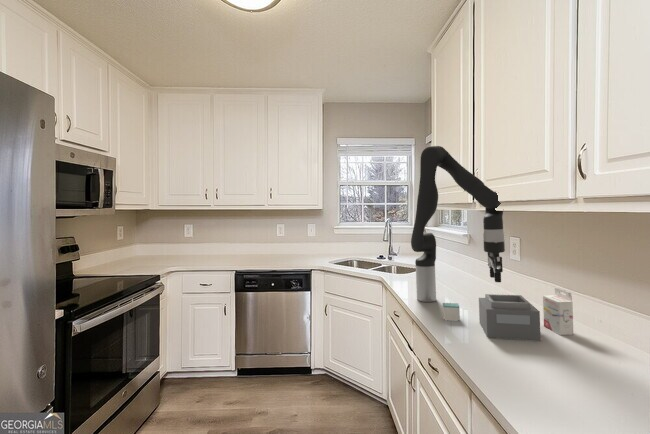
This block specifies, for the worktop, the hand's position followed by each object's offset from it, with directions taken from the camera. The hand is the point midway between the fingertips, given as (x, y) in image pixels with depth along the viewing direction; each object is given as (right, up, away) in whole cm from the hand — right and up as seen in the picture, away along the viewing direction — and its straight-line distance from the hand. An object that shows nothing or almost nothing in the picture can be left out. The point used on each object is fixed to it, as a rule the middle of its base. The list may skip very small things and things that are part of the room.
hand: (495, 279), depth 127 cm
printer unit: (-4, -16, -15) cm, 22 cm away
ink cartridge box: (+14, -15, -16) cm, 26 cm away
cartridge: (-18, -16, 0) cm, 24 cm away
